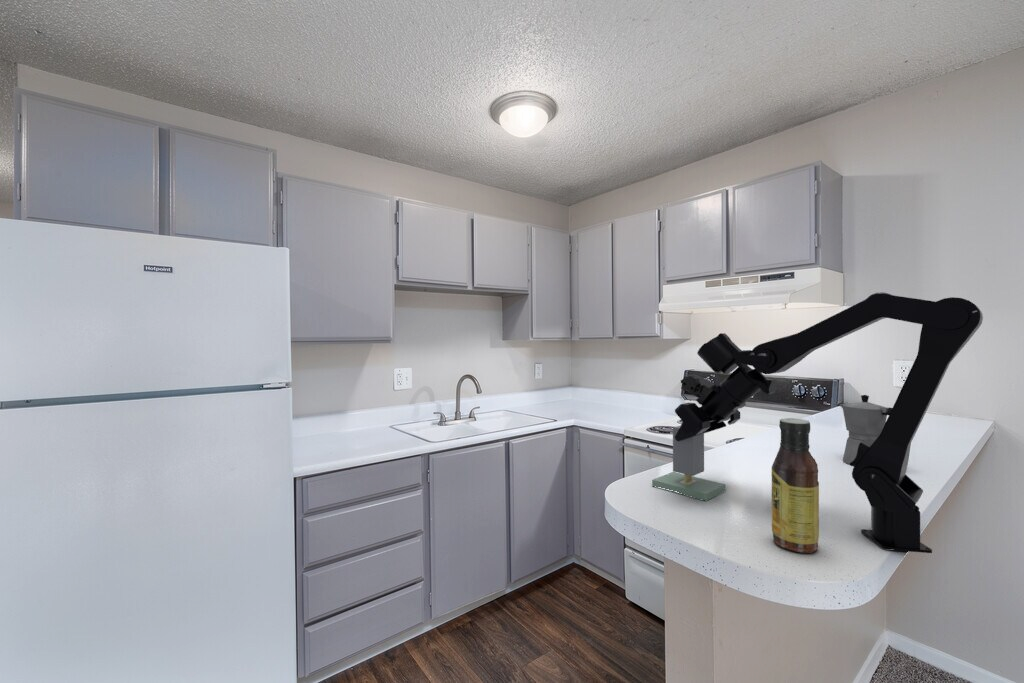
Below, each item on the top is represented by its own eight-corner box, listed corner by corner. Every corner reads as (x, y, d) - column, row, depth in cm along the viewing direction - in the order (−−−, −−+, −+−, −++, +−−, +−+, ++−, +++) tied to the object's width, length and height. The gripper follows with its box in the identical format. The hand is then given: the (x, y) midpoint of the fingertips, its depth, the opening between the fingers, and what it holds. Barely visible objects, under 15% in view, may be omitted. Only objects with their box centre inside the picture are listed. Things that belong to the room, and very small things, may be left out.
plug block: (704, 471, 96) (703, 427, 96) (693, 475, 92) (692, 430, 92) (684, 466, 99) (684, 424, 99) (673, 471, 96) (672, 427, 96)
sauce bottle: (775, 533, 74) (775, 414, 74) (820, 544, 70) (820, 418, 70) (768, 547, 69) (767, 420, 69) (816, 560, 65) (816, 425, 65)
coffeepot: (826, 459, 119) (826, 392, 119) (853, 456, 122) (853, 391, 122) (887, 476, 104) (887, 400, 104) (917, 473, 107) (917, 398, 107)
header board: (725, 491, 94) (725, 472, 94) (705, 501, 88) (705, 481, 88) (673, 478, 103) (673, 461, 103) (652, 486, 97) (652, 468, 97)
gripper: (725, 360, 99) (679, 404, 107) (683, 363, 87) (635, 413, 95) (763, 399, 93) (711, 442, 101) (725, 408, 81) (669, 457, 89)
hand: (682, 437), depth 97 cm, fingers closed on plug block, 5 cm apart
